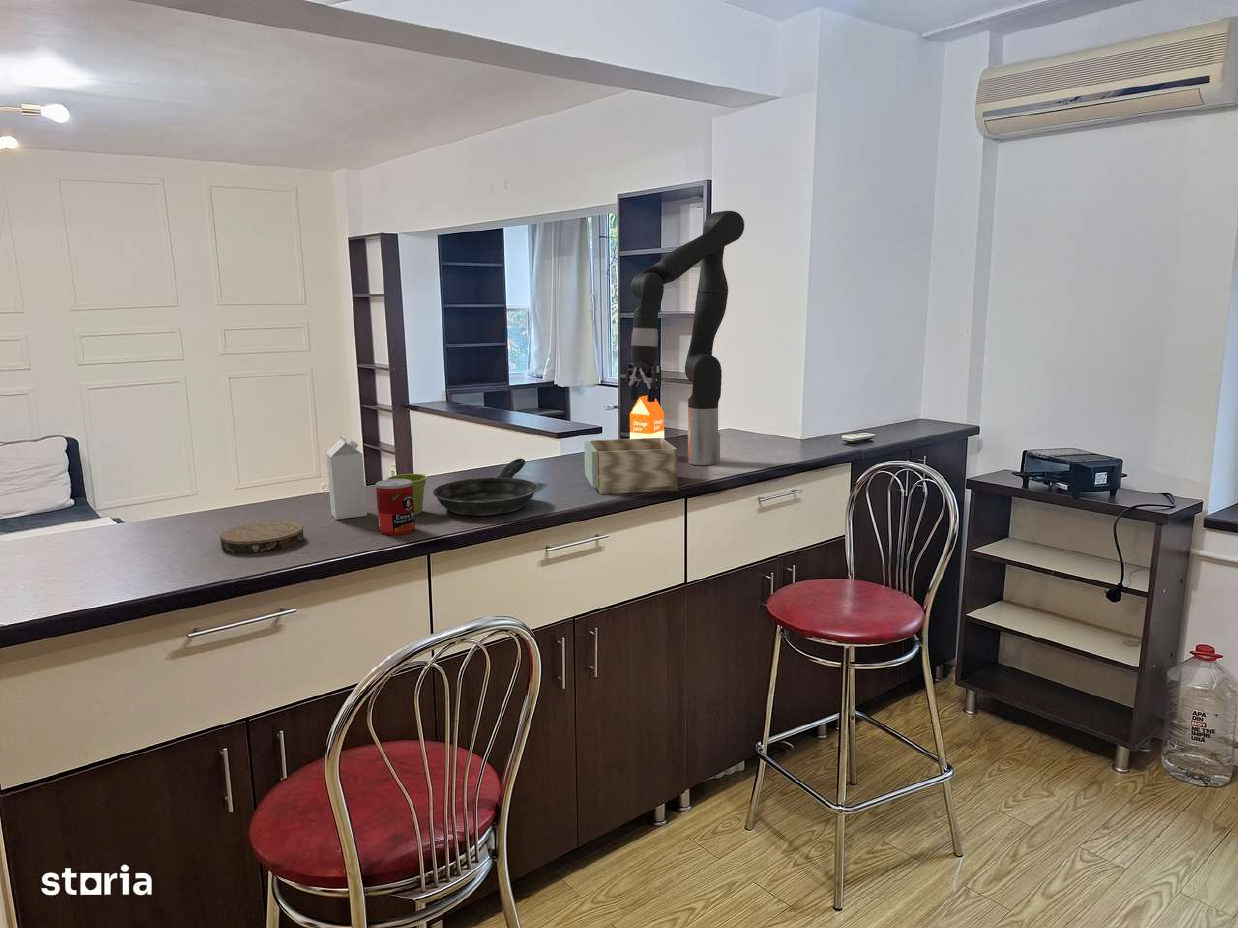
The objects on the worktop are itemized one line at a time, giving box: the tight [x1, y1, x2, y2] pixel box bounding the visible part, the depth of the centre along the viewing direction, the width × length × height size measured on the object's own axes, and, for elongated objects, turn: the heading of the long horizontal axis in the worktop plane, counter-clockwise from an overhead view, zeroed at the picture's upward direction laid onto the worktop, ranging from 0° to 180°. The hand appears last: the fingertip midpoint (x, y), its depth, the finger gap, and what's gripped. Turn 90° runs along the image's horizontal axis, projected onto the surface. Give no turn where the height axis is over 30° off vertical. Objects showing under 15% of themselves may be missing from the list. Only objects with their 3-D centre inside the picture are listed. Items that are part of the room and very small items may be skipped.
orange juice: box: [629, 395, 665, 440], centre depth 261 cm, size 8×9×20 cm
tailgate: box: [583, 440, 598, 488], centre depth 220 cm, size 2×17×9 cm, turn 9°
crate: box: [589, 438, 678, 495], centre depth 222 cm, size 20×20×11 cm
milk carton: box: [325, 434, 368, 520], centre depth 192 cm, size 7×7×19 cm
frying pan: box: [432, 458, 539, 517], centre depth 208 cm, size 44×25×7 cm, turn 168°
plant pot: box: [385, 473, 428, 516], centre depth 194 cm, size 9×9×9 cm
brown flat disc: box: [219, 520, 305, 555], centre depth 171 cm, size 16×16×3 cm
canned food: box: [375, 478, 416, 536], centre depth 178 cm, size 8×8×11 cm
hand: (642, 400), depth 237 cm, fingers open, 8 cm apart
